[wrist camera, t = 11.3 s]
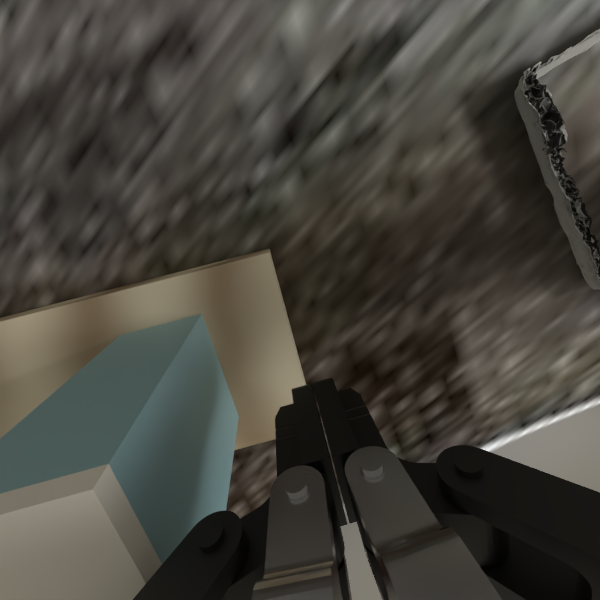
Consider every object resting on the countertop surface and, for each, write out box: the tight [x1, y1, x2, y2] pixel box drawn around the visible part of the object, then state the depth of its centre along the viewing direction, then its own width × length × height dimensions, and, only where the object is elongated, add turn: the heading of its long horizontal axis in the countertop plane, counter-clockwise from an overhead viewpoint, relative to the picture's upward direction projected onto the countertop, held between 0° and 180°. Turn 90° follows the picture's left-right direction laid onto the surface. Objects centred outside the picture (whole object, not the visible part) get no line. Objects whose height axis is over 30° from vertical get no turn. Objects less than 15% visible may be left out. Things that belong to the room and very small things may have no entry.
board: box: [0, 248, 306, 450], centre depth 17 cm, size 18×10×2 cm, turn 104°
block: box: [0, 314, 239, 600], centre depth 11 cm, size 4×6×10 cm, turn 14°
